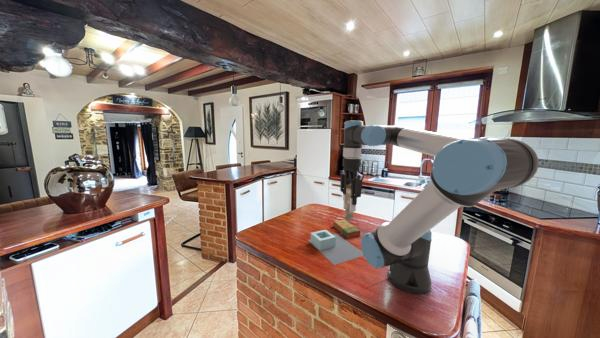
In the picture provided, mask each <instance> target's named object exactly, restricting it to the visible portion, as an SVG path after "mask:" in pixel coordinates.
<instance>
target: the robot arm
mask: <svg viewBox="0 0 600 338" xmlns="http://www.w3.org/2000/svg"><path fill="white" fill-rule="evenodd" d="M362 146H367V147H368V146H369V147H375V146H376V147H377V146H396V147H399V148H403V149H406V150H410V151H413V152H417V153H421V154H424V155H428V156H430V157H434V159H433V162H432V164H433V167H432V168H431V169H432V171H431V172H430V173H429V174H430V175H429V178H430V182H429V183H428V184H427V185H425V187H424V188H422V190H421V191H420V192H419V193H418V194H417V195H416V196H415V197H414V198H413V199H412V200H410V202H408V204H407V205H406V206H405V207H404V208H403V209H402V210H401V211H400V212H398V214H396V216H395V217H393V218H392V219H391V221H390V222H389V221H388V222H387V221H386V222H383V223H381V224H380V225H379V226H378V227H377V228H376V229H375V230H374V231H372V232H366V233H363V235H362V236H361V238H360V247H361V251H362V252H363V255H364V256H363V257H364V258H365V261H366V262H367V263H368V264H369V265H370V266H371V267H372V268H374V269H378V268H379V269H380V268H381V269H382V268H384V267H388V270H387V278H388V280H389V282H390V283H391V284H393V286H395V287H396V288H397V289H400V290H401V291H404V292H406V293H409V294H414V295H422V294H423V295H424V294H427V293H429V292H430V291H431V290H432V283H433V282H432V278H431V274H430V270H429V261H430V253H431V243H432V231H431V229H433V228H435V227H436V226H438V224H439V223H441V222H442V221H444V220H445V219H446V218H448V217H449V216H450V215H451V214H453V213H454V212H455V211H457V210H459V208H461V207H463V208H464V207H465V208H471V207H475V206H476V205H477V204H479V203H480V202H482V201H483V200H484V199H486V198H487V197H488V196H490V195H491V194H493V193H495V192H496V191H500V190H505V189H506V190H507V189H513V188H516V187H517V188H518V187H520V186H522V185H524V184H526V183H528V182H529V181H530V180H532V179H533V178H534V177H535V175H536V173H537V172H538V169H539V163H540V160H539V157H538V154H537V152H536V151H535V150H534V149H533V147H532V146H530V145H529V144H527V143H525V142H524V141H521V140H518V139H515V138H514V139H513V138H494V137H493V138H492V137H485V136H482V137H469V138H468V137H461V136H457V135H451V134H446V133H441V132H434V131H429V130H423V129H417V128H411V127H409V126H406V125H379V124H369V125H368V124H367V125H365V124H364V122H363V121H362V120H346V121H345V122H344V127H343V147H342V157H343V158H342V167H343V170H341V169H340V170H339V174H340V186H339V187H340V193H342V194H343V198H342V199H343V210H345V203H346V184H351V195H352V196H351V197H350V210H349V212H353V213H354V212H356V209H357V203H358V202H357V201H358V198H361V197H362V187H363V181H364V177H365V175H364V174H361V173H360V167H361V165H362V164H361V163H362V159H361V158H362Z"/></svg>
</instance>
